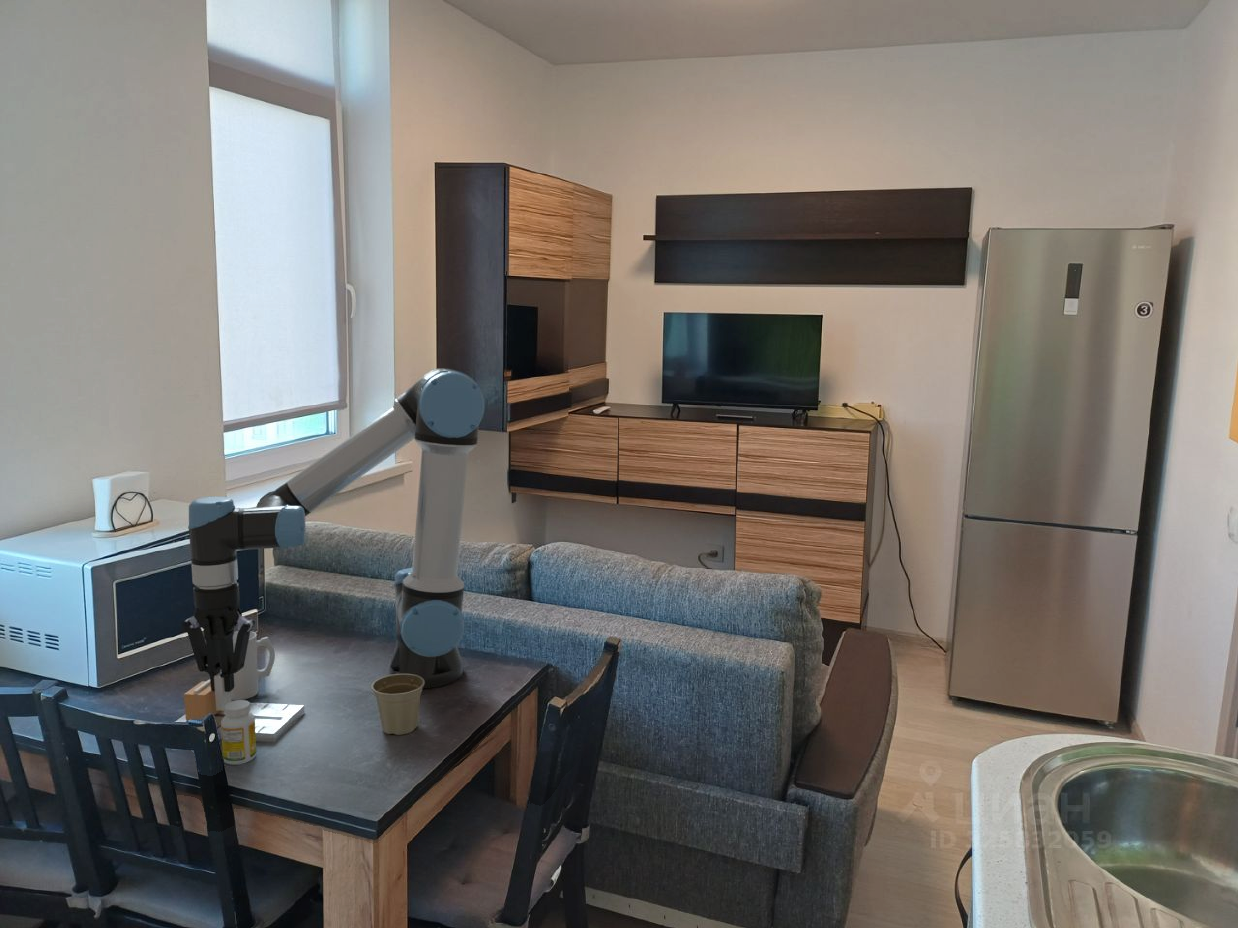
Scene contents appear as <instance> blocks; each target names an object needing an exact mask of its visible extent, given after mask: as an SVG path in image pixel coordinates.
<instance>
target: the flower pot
mask: <svg viewBox="0 0 1238 928" xmlns="http://www.w3.org/2000/svg"><path fill="white" fill-rule="evenodd" d="M424 684H425V681H424V679H423V678H422V677H420V676H417V675H413V674H394V675H389V674H388V675H385V676H382V677H380V678H378V679H376V680H374V681H373V682H372V683H371V686H370V687H371V691H372V692H373V694H374V697H375V699H376V701H377V702H376V703H377V707H378V712H379V717H380V723H381V728H382V731H383V732H384V733H385V734H387V735H392V734H394V735H396V736H402V735H406V734H409V733H412V732H413V731H415V729H416V728H417V727H418V721H419V712H420V701H421V694H422V692H423V688H422V687H423V686H424Z"/></svg>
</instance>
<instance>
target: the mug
mask: <svg viewBox="0 0 1238 928" xmlns="http://www.w3.org/2000/svg"><path fill="white" fill-rule="evenodd" d="M238 632H239V630H236V631H234V635H233V648H234V650H235V644H236V638H237V634H238ZM257 635H258V634H257V633H256V632H255V631H252V630H251V631H250V636H249V641H248V646H247V652H246V657H245V663H244V667H243V668H242V669H240V670H239V671H238V672H236V673H234V689H233V690H232V691H231V701H236V700H248V699H250V698H254V697H255V696H256V695H258V693H259V680H260V679H261V678H265V677H269V676H270V674H271V672H272V669H273V665H274V663H275V659H276V650H275V648H274V646H273V644H272V643H271V641H270V639H269V637H268V636H265V637H261V638H260V639H258V640H257ZM259 647H265V648H266V649H267V651H268V652H269V653H268V654H269V657H268V662H267V664H266V666H265V667H264V668H263V669H259V667H258V649H259Z"/></svg>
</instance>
